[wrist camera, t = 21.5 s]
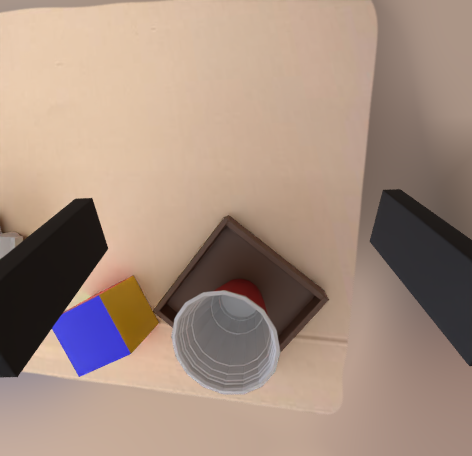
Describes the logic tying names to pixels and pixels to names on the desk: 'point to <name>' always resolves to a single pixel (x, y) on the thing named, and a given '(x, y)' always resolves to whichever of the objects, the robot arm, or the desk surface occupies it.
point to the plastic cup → (227, 339)
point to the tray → (249, 268)
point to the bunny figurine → (8, 242)
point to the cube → (105, 326)
